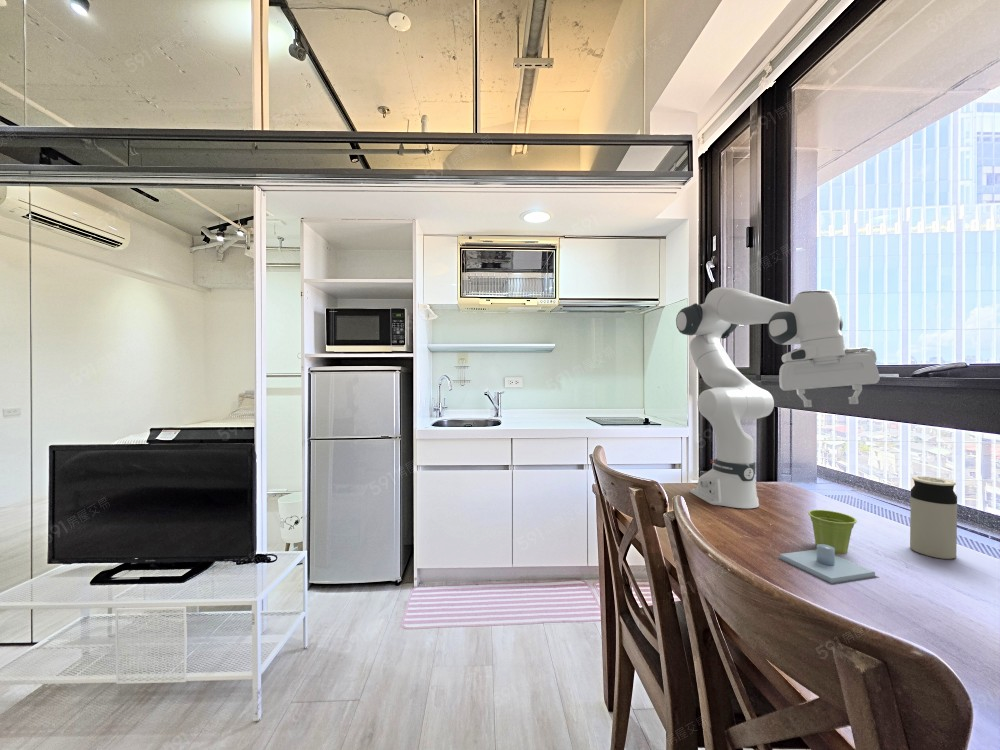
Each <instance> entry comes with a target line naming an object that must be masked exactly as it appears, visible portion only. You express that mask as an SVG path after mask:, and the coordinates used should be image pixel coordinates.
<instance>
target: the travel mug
mask: <svg viewBox="0 0 1000 750" xmlns="http://www.w3.org/2000/svg"><path fill="white" fill-rule="evenodd" d="M911 479H912V480H913V482H914V483H913V484H914V485H913V487H912V488H911V489H910V510H909V511H910V519H909V521H910V525H909V527H910V528H909V530H910V531H909V533H910V534H909V537H910V538H909V547H910V549H911V550H913V551H914V552H916V553H918V554H921V555H923V556H926V557H931V558H935V559H943V560H951V559H955V558H957V548H958V547H957V545H958V544H957V542H958V541H957V538H958V536H957V535H958V495H957V494H956V492H955V491H954V487H955V485H957V484H956V483H957V482H955V481H953V480H950V479H945V478H941V477H934V476H926V475H919V476H918V475H917V476H915V475H914V476H912V478H911Z"/></svg>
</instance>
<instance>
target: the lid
mask: <svg viewBox="0 0 1000 750" xmlns="http://www.w3.org/2000/svg"><path fill="white" fill-rule="evenodd" d="M779 557H780V559H782V560H785V561H787V562H789V563H791V564H793V565H795V566H797V567H799V568H801V569H803V570H805V571H807V572H809V573H812V574H814V575H816V576H818V577H820V578H822V579H824V580H826V581H828V582H830V583H836V582H843V581H849V580H855V579H862V578H868V577H875V576H876V571H875V570H872V569H870V568H867V567H864V566H862V565H861V564H858V563H855V562H853V561H850V560H848V559H846V558H842V557H840V556H839V555H836V553H835V548H834V547H832V546H829V545H825V544H817V547H816V549H809V550H801V551H794V552H785V553H780V554H779ZM780 559H779V560H780ZM782 560H781V561H782ZM805 571H804V572H805ZM807 572H806V573H807ZM809 573H808V574H809Z"/></svg>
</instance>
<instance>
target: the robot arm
mask: <svg viewBox="0 0 1000 750" xmlns="http://www.w3.org/2000/svg"><path fill="white" fill-rule="evenodd" d="M839 309H840V307H839V305H838V301H837V298H836V296H835V294H834V293H833V292H832V291H831V290H829V289H815V290H813V289H812V290H811V289H810V290H804V291H801V292H799V293H797V294H796V295H795V297H794V299H793V301H792V302H791V303H786V302H785V303H784V302H781V301H777V300H774V299H770V298H767V297H764V296H760V295H757V294H754V293H752V292H748V291H745V290H742V289H739V288H735V287H729V286H728V287H727V286H719V287H716V288H714V289H712V290H711V291H709V293H707V295H706V297H705V300H704V303H701V304H698V303H693V304H691V305H689V306H686V307H683V308H682V309H680V310H679V311H678V313H677V314H676V319H675V325H676V329H677V330H678V332H679V333H680V334H681V335H685V336H695V337H693V338H692V339H691V340H690V344H689V350H690V353H691V357H692V361H693V362H694V365H695V367H696V368H697V371H698V372H699V374H700V377H701V378H702V381H704V384H706V385H707V386H708V387H710V388H709V389H706V390H703V391H701V392H700V394H699V396H698V397H697V401H696V402H697V404H696V405H697V408H698V411H699V413H700V414H701V415H702V417H704V418H705V419H706V420H707V421H708V422H709V423H710V425H711V427H712V429H713V431H714V435H715V442H716V444H715V445H716V458H715V459H710V463H711V464H713V466H712V468H711V469H710V470H708V471H706V472H705V473H703V474H702V475H700V476H699V478H698V480H697V487H695V488H692V489H690V494H692V495H694V496H696V497H698V498H700V499H701V500H703V501H705V502H706V503H707V504H710V505H712V506H713V505H714V506H722V507H723V506H724V507H728V508H736V509H755V508H758V507H759V506H760V503H759V502H760V501H759V497H758V493H757V483H756V477H755V474H756V468H757V467H756V462H755V440H754V439H753V437H752V436H751V434H749V433H747V432H746V431H744V429H743V426H742V424H741V421H744V420H757V419H762V418H766V417H768V416H770V415H771V414H772V412H773V410H774V407H775V401H774V397H773V395H772V394H771V393H770V391H768V390H767V389H764V388H762V387H759V386H758V385H756V384H755V383H754V382H752V381H751V380H749V378H747V377H746V376H745V375H744V374H742V372H740V370H738V369H737V367H736V366H735V364H734V363H733V361H732V359H731V358H730V356H729V354H728V353H727V351H726V350H725V348H724V347H723V345H722V343H721V340H723V339H726V338H729V337H730V334H732V333H733V332H734V331H735V330H736V328H737V327H738V325H739V326H747V325H749V326H750V325H761V324H767V332H768V333H767V334H768V337H769V338H770V339H771V340H772V342H773V343H775V344H776V345H783V346H786V345H788V346H789V345H800V347H799V348H796V349H792V350H791V351H788V352H787V353H784V354H783V355H782V356H781V361H782V363H783V364H781V365H780V368H779V373H778V374H779V375H778V378H779V379H778V383H779V388H780V389H781V390H782V391H784V392H785V391H796V394H797V396H798V397H799V398H800V399H801V401H803V407H804V408H812V407H813V403H812V402H813V401H812V399H807V398H806V396H805V395H804V394H806V390H810V389H812V390H813V389H821V388H824V389H825V388H833V387H834V388H836V387H847V386H848V387H849V386H851V387H852V391H853V390H854V392H853V395H852V396H848V404H849V405H858V404H859V396H860V395H861V393H862V391H863V385H874V384H877V383H879V381H880V379H881V378H880V377H881V376H880V373H879V372H880V371H879V369H878V366H877V364H876V363H877V354H876V353H877V352H876V351H875V350H874V349H871V348H869V347H868V346H862V347H856V348H855V347H854V348H853V347H851V348H845V341H844V336H843V334H842V333H843V332H842V331H843V327H844V326H843V325H844V323H843V318H842V316H841V313H840V310H839Z"/></svg>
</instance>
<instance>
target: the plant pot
mask: <svg viewBox="0 0 1000 750" xmlns="http://www.w3.org/2000/svg"><path fill="white" fill-rule="evenodd" d="M808 516H810V517H809V518H810V520H811V523H812V531H813V535H814V536H813V537H814V543H815V546H816V548H817V544H825V545H829V546H832V547H834V548H835V554H840V555H843V554H847V553H848V550H849V545H850V541H851V536H852V531H853V528H854V526H855V524H856V523H857V521H858V519H856V518H855V517H853V516H852V515H850V514H846V513H842V512H839V511H833V510H825V509H811V510H809V511H808Z"/></svg>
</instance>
